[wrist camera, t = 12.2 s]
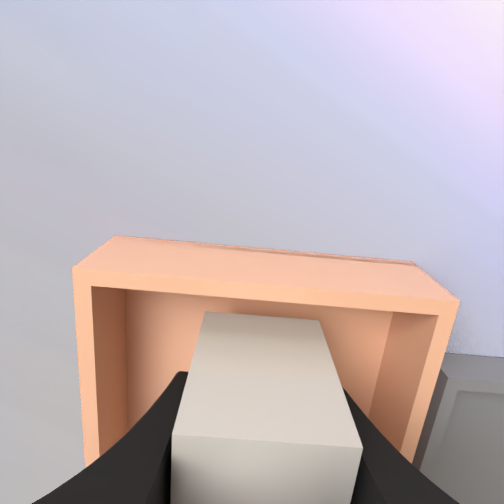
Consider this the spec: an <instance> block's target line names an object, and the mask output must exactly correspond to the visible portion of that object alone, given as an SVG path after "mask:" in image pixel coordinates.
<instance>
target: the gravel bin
mask: <svg viewBox="0 0 504 504" xmlns="http://www.w3.org/2000/svg"><path fill="white" fill-rule="evenodd" d="M72 275H73V290H74V305H75V320H76V335H77V350H78V365H79V380H80V395H81V410H82V425H83V440H84V455H85V468H86V467H88V466H89V465H90V464H91V463H93V462H94V461H95V460H96V459H98V458H99V457H100V456H101V455H103V454H104V453H105V452H106V451H107V450H108V449H110V448H111V447H112V446H113V445H114V444H115V443H116V442H117V441H119V440H120V439H121V438H122V437H123V436H124V435H125V434H126V433H127V432H128V431H129V430H130V429H131V428H132V427H133V426H134V425H135V424H136V423H137V422H138V421H139V419H140V418H141V417H142V416H143V415H144V414H145V413H146V412H147V411H148V410H149V408H150V407H151V406H152V405H153V404H154V402H155V401H156V400H157V399H158V398H159V396H160V395H161V394H162V393H163V391H164V390H165V389H166V387H167V386H168V385H169V383H170V382H171V380H172V379H173V378H174V376H175V374H176V373H177V372H179V371H186V372H189V369H190V365H191V362H192V358H193V354H194V351H195V347H196V343H197V339H198V336H199V332H200V328H201V324H202V321H203V317H204V313H205V311H208V312H221V313H233V314H246V315H259V316H272V317H285V318H297V319H310V320H319V322H320V325H321V328H322V331H323V334H324V336H325V339H326V342H327V345H328V348H329V351H330V354H331V357H332V360H333V362H334V365H335V368H336V371H337V374H338V377H339V380H340V383H341V385H342V387H343V388H344V389H345V390H346V392H347V393H348V394H349V395H350V397H351V398H352V399H353V400H354V402H355V403H356V404H357V405H358V407H359V408H360V409H361V410H362V411H363V413H364V414H365V415H366V416H367V418H368V419H369V420H370V421H371V422H372V423H373V424H374V426H375V427H376V428H377V429H378V430H379V431H380V432H381V434H382V435H383V436H384V437H385V438H386V439H387V440H388V441H389V442H390V443H391V444H392V445H393V446H394V447H395V448H396V449H397V450H398V451H399V452H400V453H401V454H402V455H403V456H404V457H405V458H406V459H407V460H408V461H409V462H410V463H411V464H412V461H413V458H414V455H415V451H416V448H417V445H418V441H419V438H420V435H421V431H422V428H423V425H424V421H425V418H426V415H427V411H428V408H429V404H430V401H431V398H432V394H433V391H434V388H435V384H436V381H437V378H438V374H439V371H440V368H441V364H442V361H443V358H444V354H445V351H446V348H447V344H448V341H449V338H450V334H451V331H452V327H453V324H454V321H455V317H456V314H457V311H458V307H459V304H460V300H458V299H457V298H456V297H455V296H453V295H452V294H451V293H450V292H449V291H447V290H446V289H445V288H444V287H442V286H441V285H440V284H439V283H438V282H436V281H435V280H434V279H433V278H431V277H430V276H429V275H428V274H427V273H425V272H424V271H423V270H422V269H420V268H419V267H418V266H417V265H416V264H414V263H413V262H411V261H399V260H388V259H377V258H365V257H354V256H343V255H331V254H320V253H309V252H297V251H286V250H275V249H264V248H252V247H241V246H230V245H218V244H207V243H196V242H184V241H173V240H162V239H150V238H139V237H128V236H116V235H115V236H113V237H112V238H111V239H109V240H108V241H107V242H106V243H104V244H103V245H102V246H100V247H99V248H98V249H96V250H95V251H94V252H92V253H91V254H90V255H88V256H87V257H86V258H84V259H83V260H82V261H80V262H79V263H78V264H76V265H75V266H74V267H72Z"/></svg>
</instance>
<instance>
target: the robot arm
mask: <svg viewBox="0 0 504 504" xmlns="http://www.w3.org/2000/svg"><path fill="white" fill-rule="evenodd" d="M188 373H189V372H186V371H179V372H177V373H176V374H175V376H174V378H173V379H172V380H171V382H170V383H169V385H168V386H167V387H166V389H165V390H164V391H163V393H162V394H161V395H160V396H159V398H158V399H157V400H156V401H155V402H154V404H153V405H152V406H151V407H150V408H149V410H148V411H147V412H146V413H145V414H144V415H143V416H142V417H141V418H140V419H139V421H138V422H137V423H136V424H135V425H134V426H133V427H132V428H131V429H130V430H129V431H128V432H127V433H126V434H125V435H124V436H123V437H122V438H121V439H120V440H119V441H117V442H116V443H115V444H114V445H113V446H112V447H111V448H110V449H108V450H107V451H106V452H105V453H104V454H103V455H101V456H100V457H99V458H98V459H96V460H95V461H94V462H93V463H91V464H90V465H89V466H88V467H86V468H85V469H84V470H82V471H81V472H80V473H78V474H77V475H75V476H74V477H73V478H71V479H70V480H68V481H67V482H65V483H64V484H62V485H61V486H59V487H58V488H57V489H55V490H54V491H52V492H51V493H49V494H47V495H46V496H44V497H42V498H41V499H39V500H37V501H36V502H34V503H32V504H170V503H171V455H172V432H173V429H174V425H175V421H176V417H177V414H178V410H179V406H180V403H181V399H182V395H183V391H184V388H185V384H186V380H187V377H188ZM341 386H342V385H341ZM342 388H343V387H342ZM343 391H344V394H345V397H346V400H347V403H348V406H349V409H350V412H351V414H352V417H353V420H354V423H355V426H356V429H357V432H358V435H359V438H360V440H361V443H362V446H363V450H362V455H361V459H360V463H359V468H358V472H357V476H356V481H355V485H354V489H353V494H352V498H351V502H350V504H460V503H458V502H457V501H456V500H454V499H453V498H452V497H450V496H449V495H448V494H447V493H445V492H444V491H443V490H442V489H440V488H439V487H438V486H437V485H435V484H434V483H433V482H432V481H430V480H429V479H428V478H427V477H426V476H425V475H423V474H422V473H421V472H420V471H419V470H418V469H417V468H416V467H415V466H413V465H412V464H411V463H410V462H409V461H408V460H407V459H406V458H405V457H404V456H403V455H402V454H401V453H400V452H399V451H398V450H397V449H396V448H395V447H394V446H393V445H392V444H391V443H390V442H389V441H388V440H387V439H386V438H385V437H384V436H383V435H382V434H381V432H380V431H379V430H378V429H377V428H376V427H375V426H374V424H373V423H372V422H371V421H370V420H369V419H368V418H367V416H366V415H365V414H364V413H363V411H362V410H361V409H360V408H359V407H358V405H357V404H356V403H355V402H354V400H353V399H352V398H351V397H350V395H349V394H348V393H347V392H346V390H345V389H344V388H343Z"/></svg>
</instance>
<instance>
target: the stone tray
mask: <svg viewBox="0 0 504 504" xmlns="http://www.w3.org/2000/svg"><path fill="white" fill-rule="evenodd" d="M412 465H413V466H415V467H416V468H417V469H418V470H419V471H420V472H421V473H422V474H423V475H425V476H426V477H427V478H428V479H429V480H430V481H432V482H433V483H434V484H435V485H437V486H438V487H439V488H440V489H442V490H443V491H444V492H445V493H447V494H448V495H449V496H450V497H452V498H453V499H454V500H456V501H457V502H458V503H460V504H504V358H500V357H488V356H476V355H464V354H452V353H445V354H444V358H443V361H442V364H441V368H440V371H439V374H438V378H437V381H436V384H435V388H434V391H433V394H432V398H431V401H430V404H429V408H428V411H427V415H426V418H425V421H424V425H423V428H422V431H421V435H420V438H419V441H418V445H417V448H416V451H415V455H414V458H413V461H412Z"/></svg>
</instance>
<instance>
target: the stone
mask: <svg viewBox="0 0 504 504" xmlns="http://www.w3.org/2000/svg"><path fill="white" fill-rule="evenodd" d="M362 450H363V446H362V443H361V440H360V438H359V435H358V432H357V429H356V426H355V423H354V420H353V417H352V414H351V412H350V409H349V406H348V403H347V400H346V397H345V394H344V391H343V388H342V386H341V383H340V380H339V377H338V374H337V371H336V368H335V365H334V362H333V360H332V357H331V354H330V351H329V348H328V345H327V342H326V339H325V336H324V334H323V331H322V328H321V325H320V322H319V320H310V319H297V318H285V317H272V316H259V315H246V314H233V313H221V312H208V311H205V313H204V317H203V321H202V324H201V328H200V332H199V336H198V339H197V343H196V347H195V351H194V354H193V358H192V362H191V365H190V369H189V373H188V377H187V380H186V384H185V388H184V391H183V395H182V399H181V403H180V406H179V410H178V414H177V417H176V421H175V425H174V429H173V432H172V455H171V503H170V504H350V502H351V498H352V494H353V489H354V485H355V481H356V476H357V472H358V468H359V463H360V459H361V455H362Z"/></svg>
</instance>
